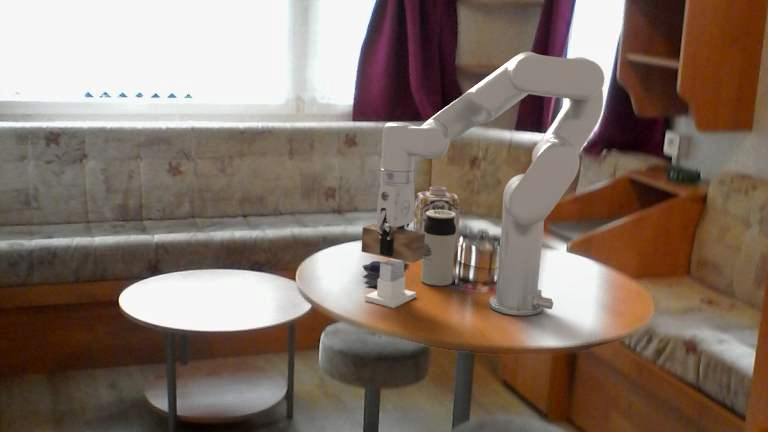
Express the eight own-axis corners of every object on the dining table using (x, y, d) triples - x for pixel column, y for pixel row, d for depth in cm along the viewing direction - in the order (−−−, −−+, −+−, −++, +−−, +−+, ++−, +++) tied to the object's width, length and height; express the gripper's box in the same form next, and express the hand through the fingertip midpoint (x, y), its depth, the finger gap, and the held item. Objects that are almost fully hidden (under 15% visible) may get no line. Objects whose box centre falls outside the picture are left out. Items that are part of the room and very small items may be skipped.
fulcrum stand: (415, 297, 209) (417, 260, 207) (393, 307, 201) (395, 269, 199) (387, 290, 213) (389, 254, 211) (364, 300, 205) (366, 263, 203)
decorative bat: (373, 243, 239) (409, 250, 237) (372, 258, 240) (407, 264, 238) (350, 274, 210) (390, 282, 209) (348, 290, 211) (388, 298, 210)
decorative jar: (416, 253, 247) (420, 191, 243) (411, 242, 258) (415, 182, 254) (458, 254, 248) (462, 192, 244) (451, 243, 260) (455, 184, 255)
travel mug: (446, 276, 227) (450, 209, 223) (456, 286, 219) (461, 216, 215) (416, 277, 225) (420, 209, 220) (426, 287, 217) (430, 217, 213)
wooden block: (423, 258, 203) (425, 233, 202) (412, 263, 199) (414, 237, 198) (372, 247, 210) (373, 223, 209) (361, 251, 206) (362, 227, 205)
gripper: (391, 184, 191) (386, 263, 196) (429, 174, 206) (424, 248, 210) (362, 179, 195) (359, 257, 199) (401, 169, 209) (397, 242, 214)
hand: (392, 251), depth 205 cm, fingers closed on wooden block, 5 cm apart
